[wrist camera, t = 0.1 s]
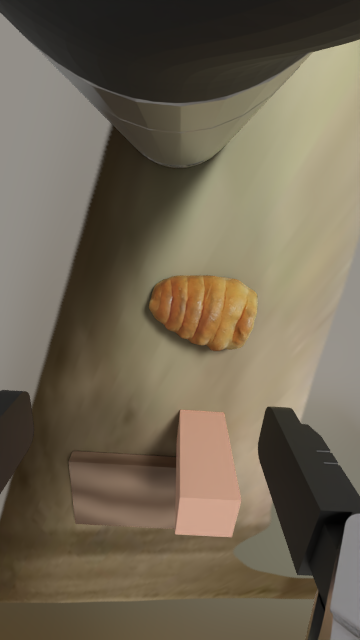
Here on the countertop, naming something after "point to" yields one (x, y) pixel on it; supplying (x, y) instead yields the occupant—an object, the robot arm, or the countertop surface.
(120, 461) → the walnut board
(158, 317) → the pastry
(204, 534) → the tall block
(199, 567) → the countertop surface
